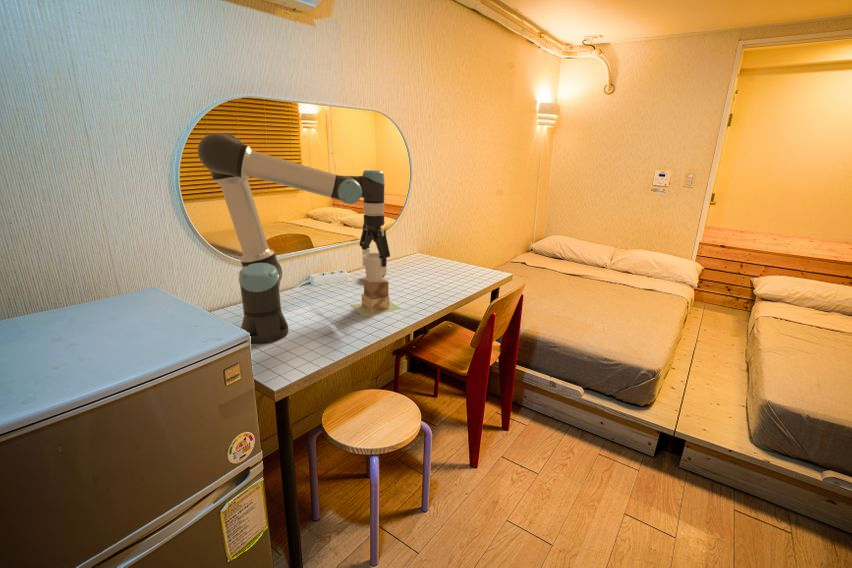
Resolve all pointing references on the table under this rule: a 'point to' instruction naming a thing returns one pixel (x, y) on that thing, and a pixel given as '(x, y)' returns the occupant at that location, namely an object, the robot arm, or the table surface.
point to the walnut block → (376, 289)
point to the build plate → (365, 312)
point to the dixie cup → (372, 267)
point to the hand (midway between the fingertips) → (374, 269)
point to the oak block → (375, 303)
